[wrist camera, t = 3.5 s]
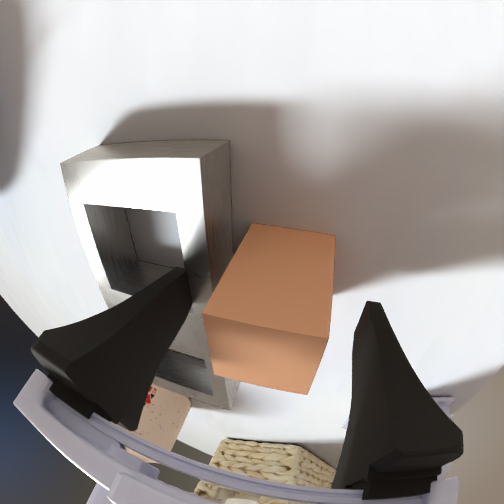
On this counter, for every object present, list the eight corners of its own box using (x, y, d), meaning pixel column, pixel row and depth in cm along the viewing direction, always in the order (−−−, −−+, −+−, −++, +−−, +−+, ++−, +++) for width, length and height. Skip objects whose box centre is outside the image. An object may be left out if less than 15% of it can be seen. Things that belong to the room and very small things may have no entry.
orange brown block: (335, 235, 12) (328, 338, 8) (322, 297, 15) (307, 395, 10) (252, 223, 13) (201, 312, 8) (251, 285, 16) (214, 374, 11)
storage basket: (343, 470, 38) (330, 531, 27) (273, 467, 46) (255, 521, 34) (305, 439, 29) (279, 535, 17) (211, 431, 37) (180, 505, 25)
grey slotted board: (98, 145, 13) (60, 163, 10) (229, 140, 11) (199, 158, 9) (162, 358, 24) (148, 382, 22) (240, 382, 23) (230, 410, 20)
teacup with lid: (156, 368, 26) (108, 455, 17) (208, 409, 29) (174, 487, 20) (111, 368, 32) (72, 430, 23) (154, 403, 35) (123, 462, 26)
